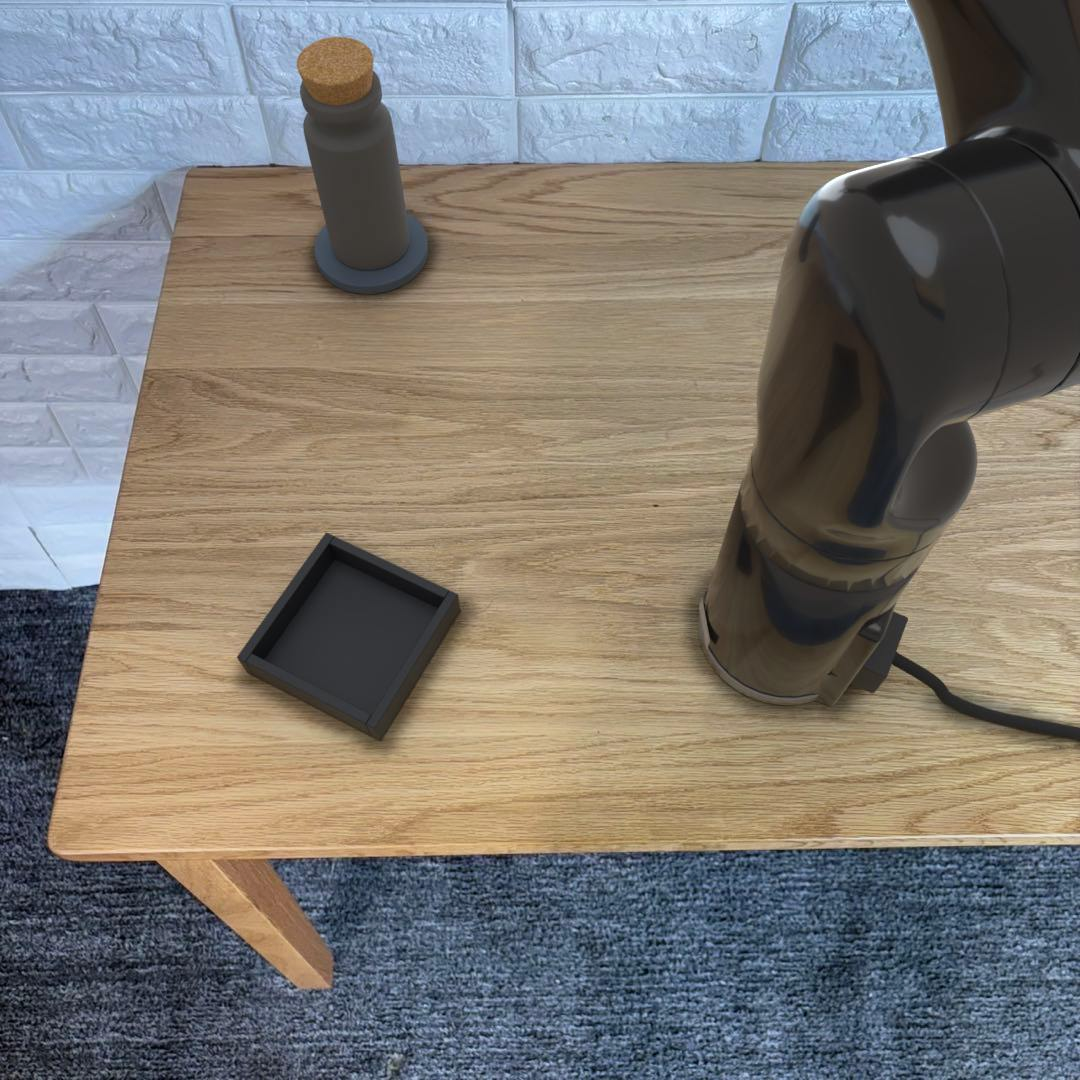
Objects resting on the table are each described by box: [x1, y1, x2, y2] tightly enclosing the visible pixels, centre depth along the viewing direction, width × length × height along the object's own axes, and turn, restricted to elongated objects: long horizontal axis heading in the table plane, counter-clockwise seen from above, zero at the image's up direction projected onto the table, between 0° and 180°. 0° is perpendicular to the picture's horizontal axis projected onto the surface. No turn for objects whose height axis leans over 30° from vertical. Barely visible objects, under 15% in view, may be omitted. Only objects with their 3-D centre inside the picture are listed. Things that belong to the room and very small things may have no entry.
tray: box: [236, 532, 462, 743], centre depth 58 cm, size 9×9×2 cm
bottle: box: [296, 36, 410, 270], centre depth 68 cm, size 6×6×15 cm
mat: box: [313, 211, 429, 295], centre depth 75 cm, size 8×8×1 cm
